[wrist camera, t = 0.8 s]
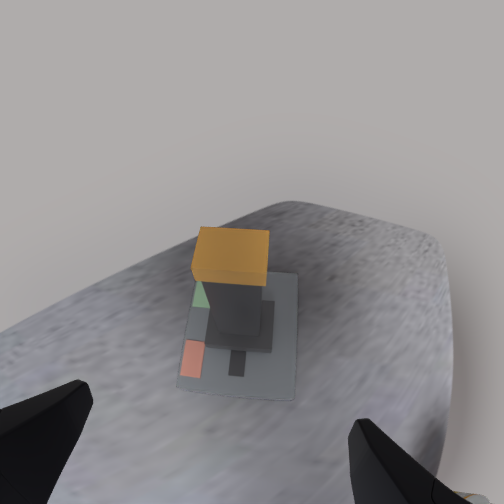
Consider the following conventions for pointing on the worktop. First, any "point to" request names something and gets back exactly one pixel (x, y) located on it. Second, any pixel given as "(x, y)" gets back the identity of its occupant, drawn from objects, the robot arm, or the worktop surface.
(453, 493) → the robot arm
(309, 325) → the worktop surface
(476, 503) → the supplement bottle
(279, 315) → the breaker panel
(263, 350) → the breaker handle
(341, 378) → the worktop surface
